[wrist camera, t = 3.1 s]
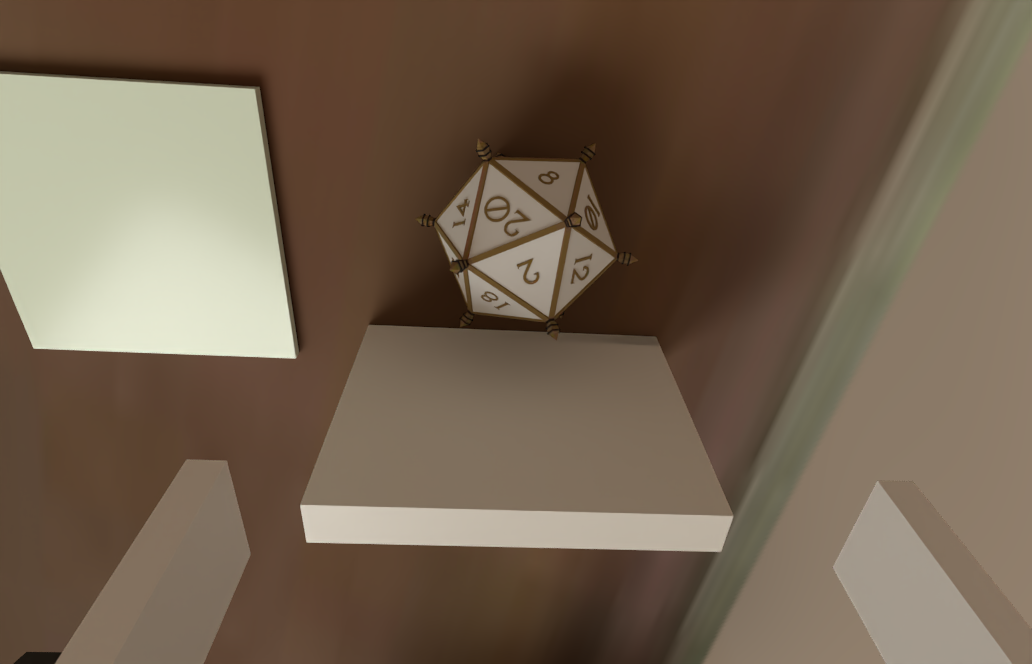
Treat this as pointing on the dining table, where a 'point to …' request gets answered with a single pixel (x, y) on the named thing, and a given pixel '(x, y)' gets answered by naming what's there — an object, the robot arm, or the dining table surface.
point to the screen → (513, 446)
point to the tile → (141, 217)
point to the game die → (525, 237)
